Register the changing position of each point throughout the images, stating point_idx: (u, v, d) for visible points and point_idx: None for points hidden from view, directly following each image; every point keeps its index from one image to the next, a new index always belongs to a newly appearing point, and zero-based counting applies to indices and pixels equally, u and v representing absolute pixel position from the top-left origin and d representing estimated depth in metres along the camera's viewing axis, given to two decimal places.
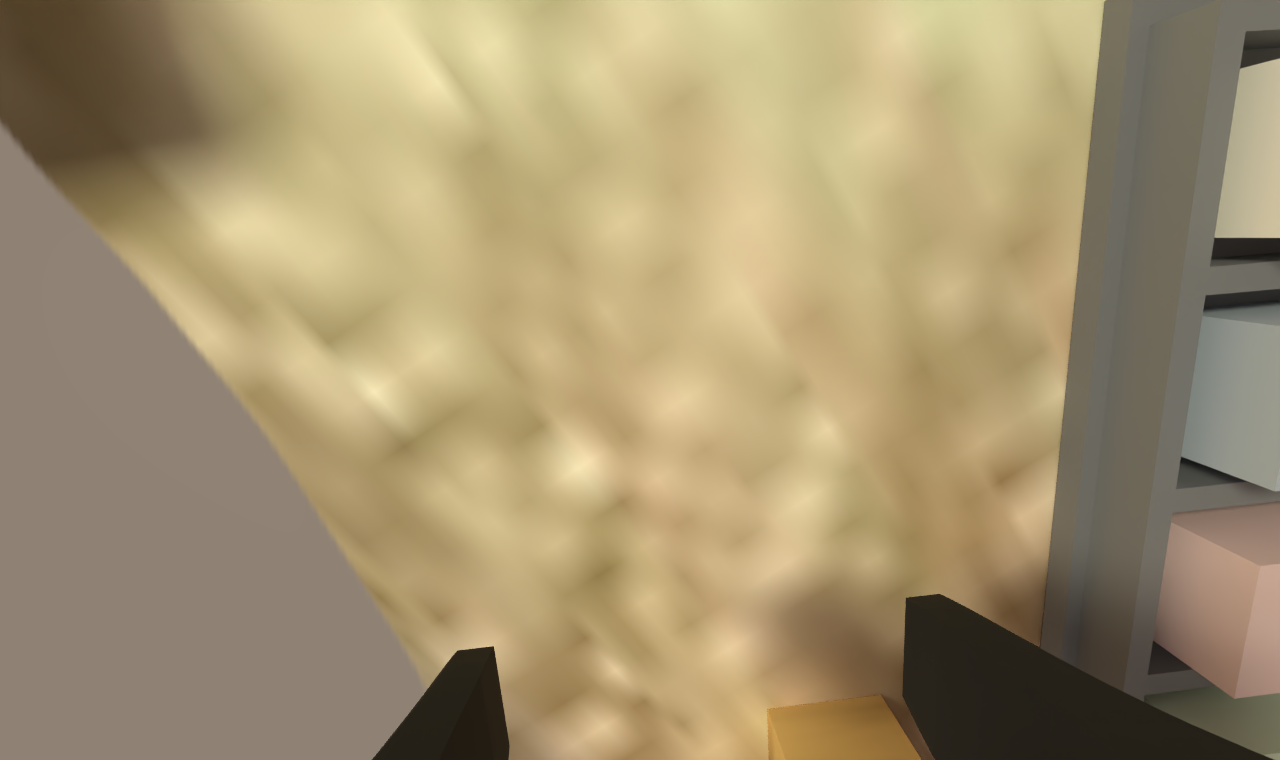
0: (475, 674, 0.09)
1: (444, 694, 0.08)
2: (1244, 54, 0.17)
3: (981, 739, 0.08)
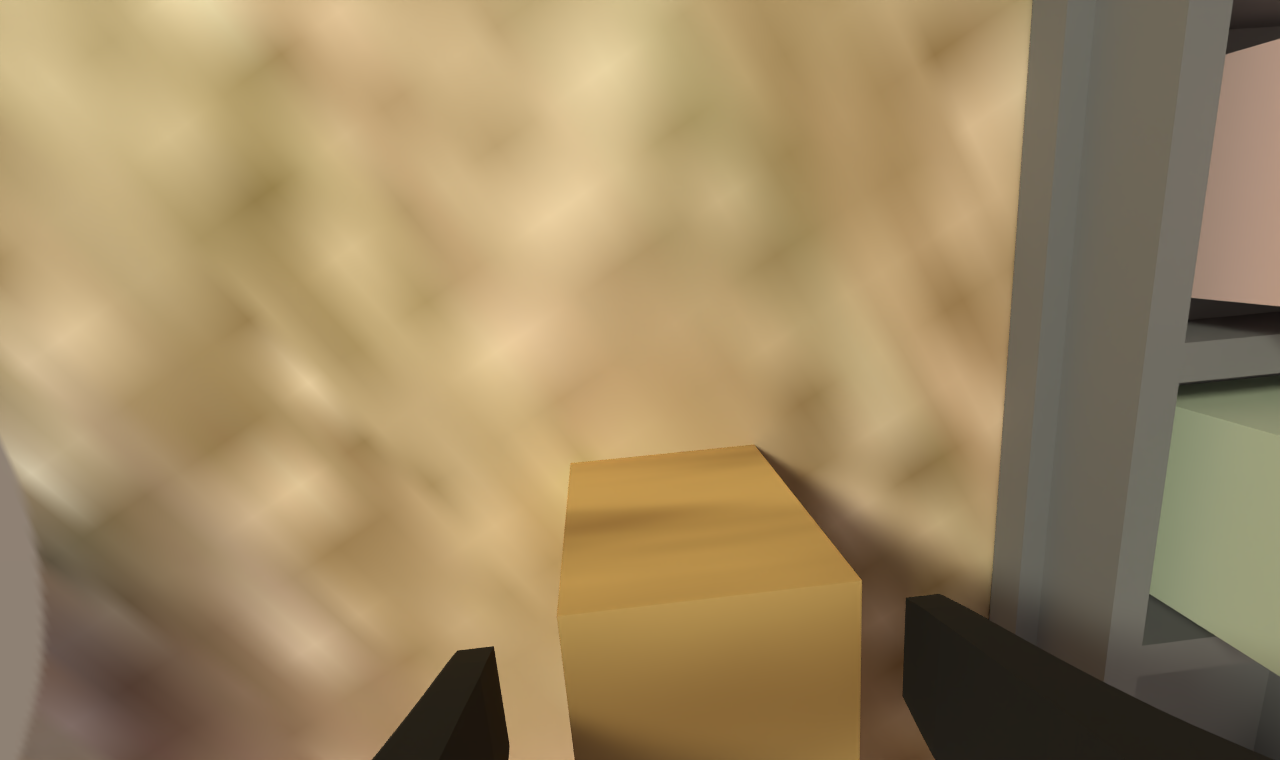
0: (475, 674, 0.09)
1: (444, 694, 0.08)
2: None
3: (981, 739, 0.08)
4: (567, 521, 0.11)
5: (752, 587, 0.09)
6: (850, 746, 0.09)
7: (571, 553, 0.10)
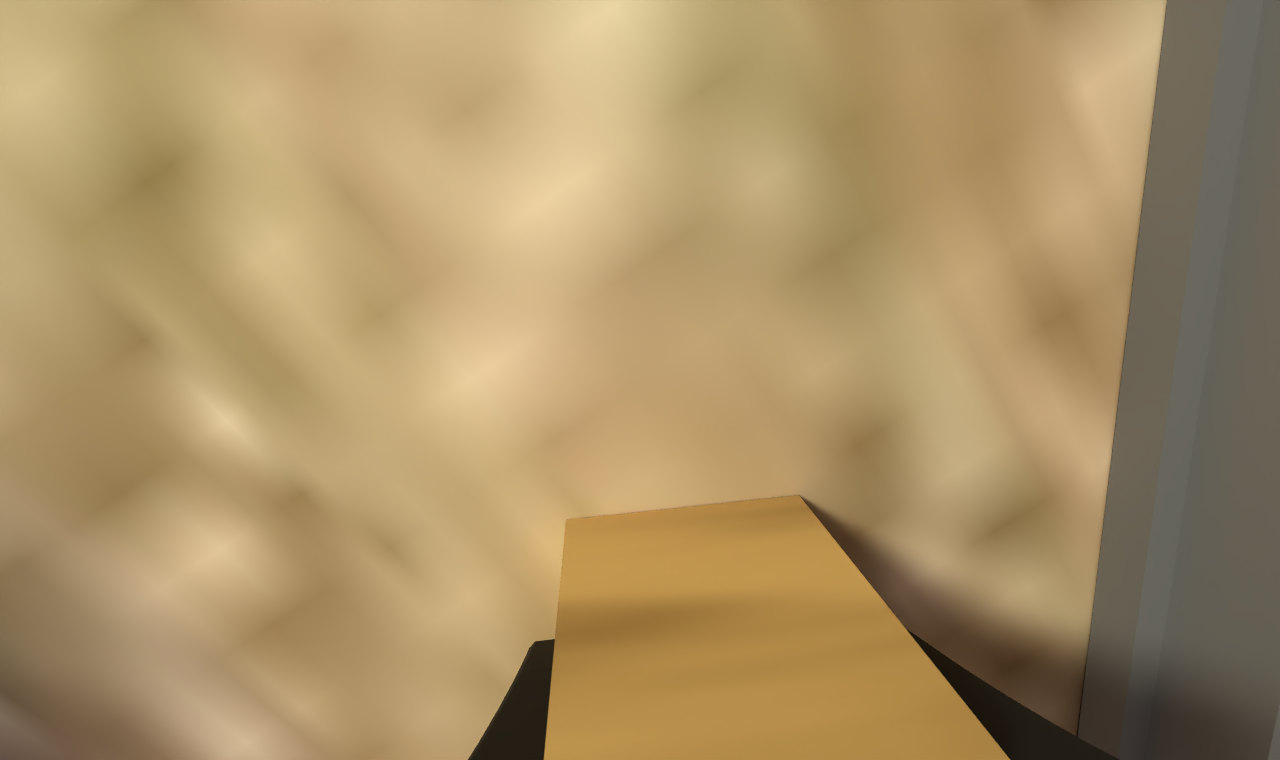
0: None
1: (535, 683, 0.08)
2: None
3: None
4: (559, 621, 0.08)
5: None
6: None
7: (563, 684, 0.07)
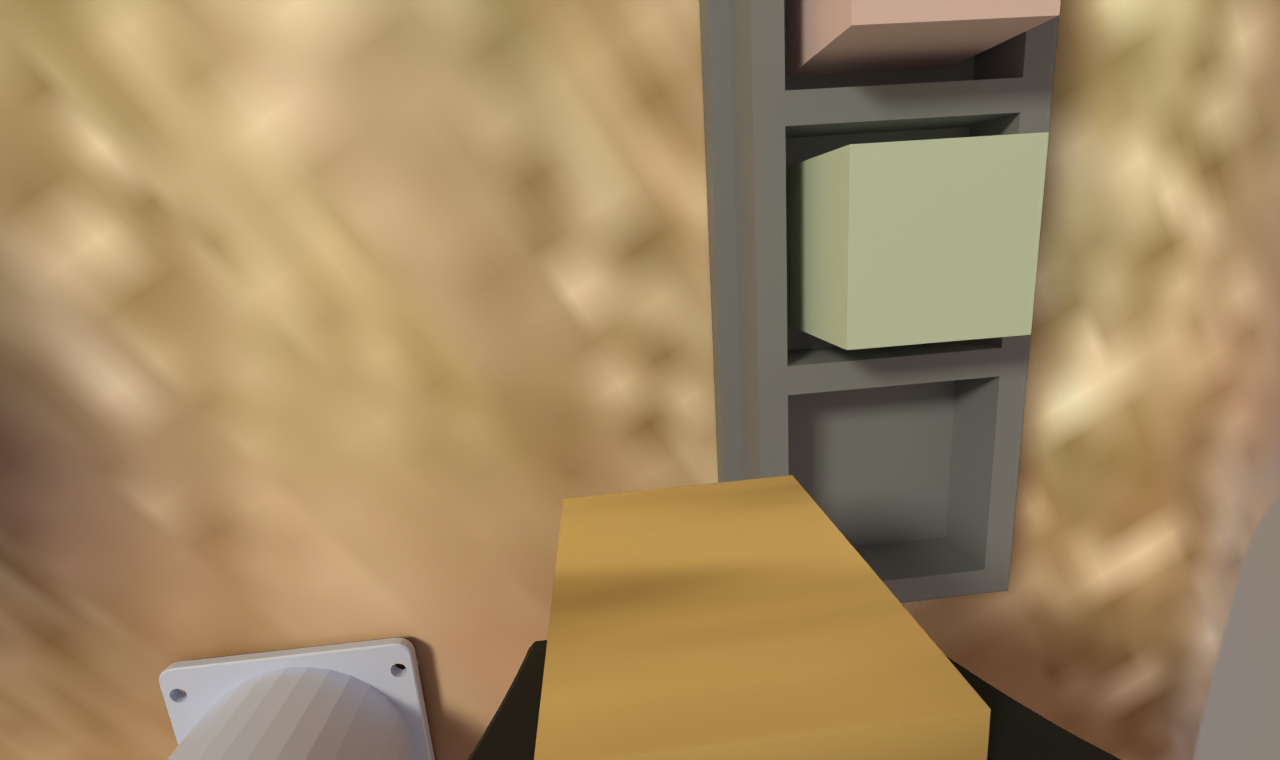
0: None
1: (535, 683, 0.08)
2: None
3: None
4: (555, 590, 0.08)
5: (826, 719, 0.06)
6: None
7: (559, 645, 0.07)
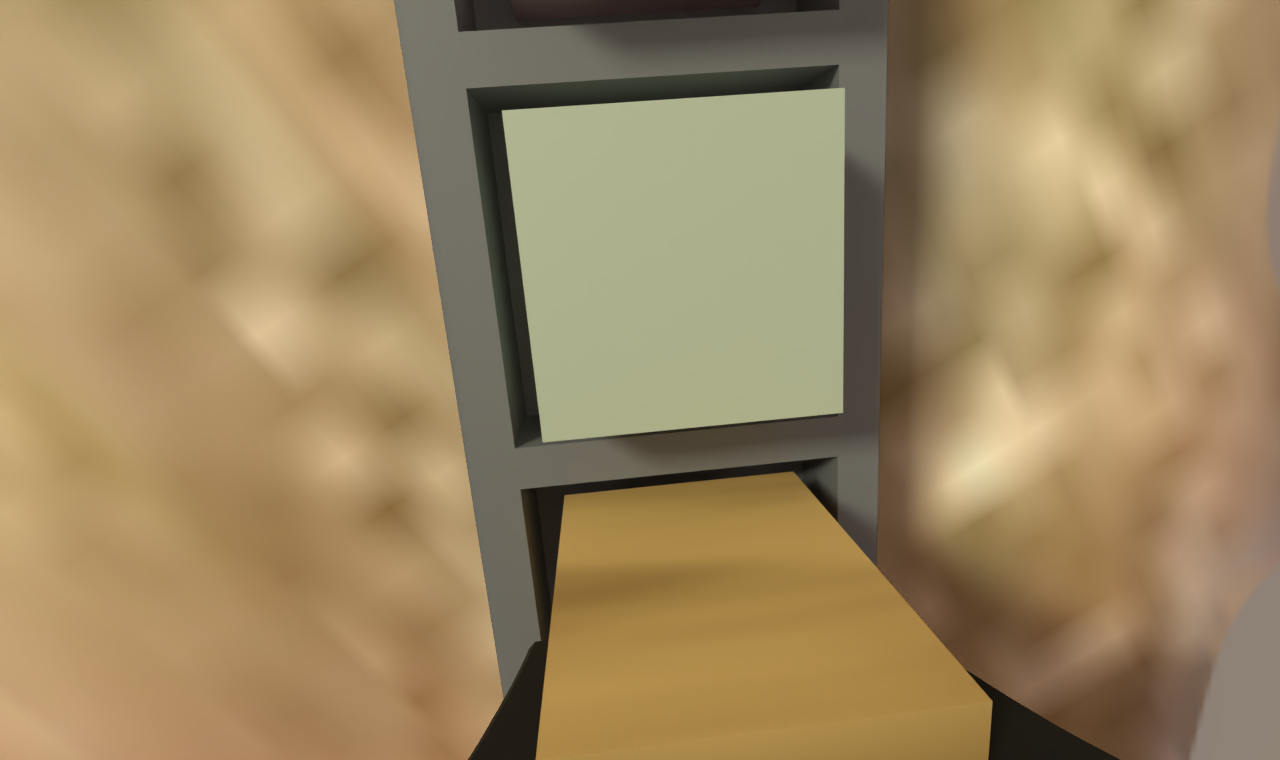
0: None
1: (535, 683, 0.08)
2: None
3: None
4: (557, 585, 0.08)
5: (828, 711, 0.06)
6: None
7: (561, 638, 0.07)
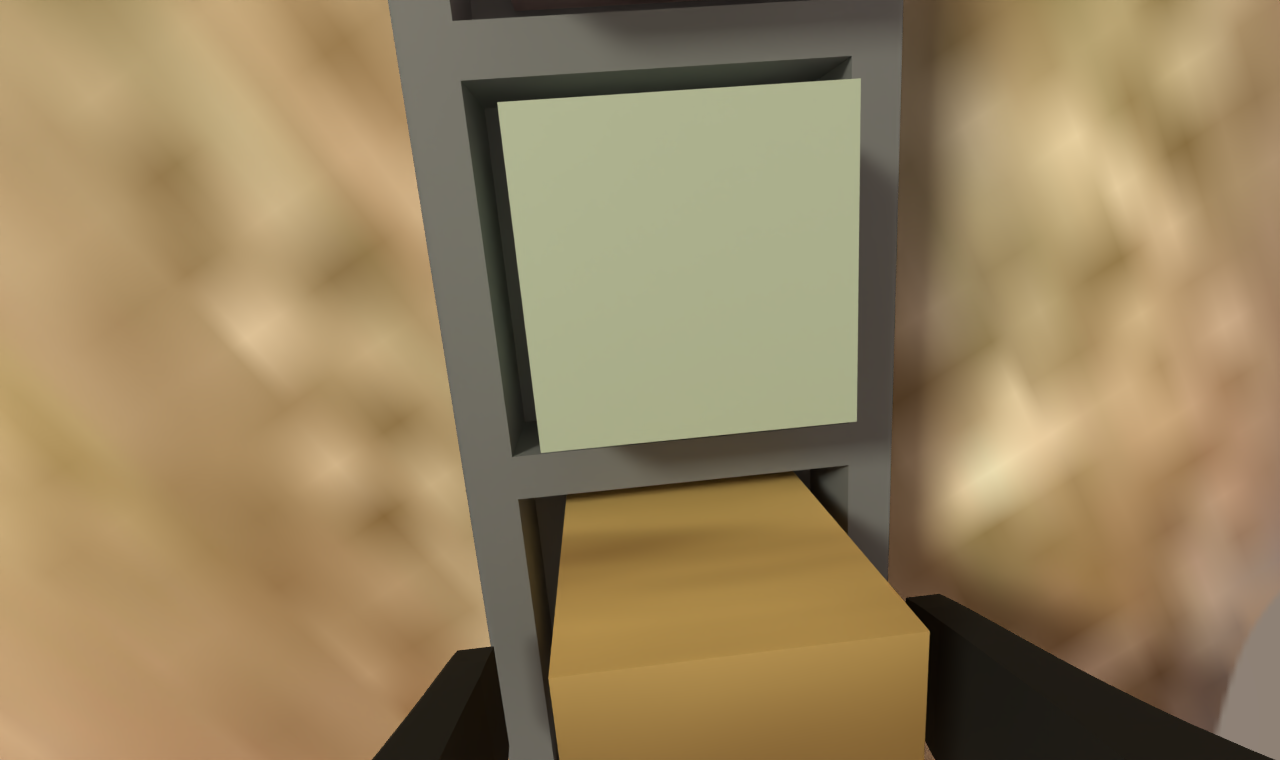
0: (475, 674, 0.09)
1: (444, 694, 0.08)
2: None
3: (981, 739, 0.08)
4: (563, 547, 0.10)
5: (792, 640, 0.07)
6: None
7: (568, 589, 0.08)
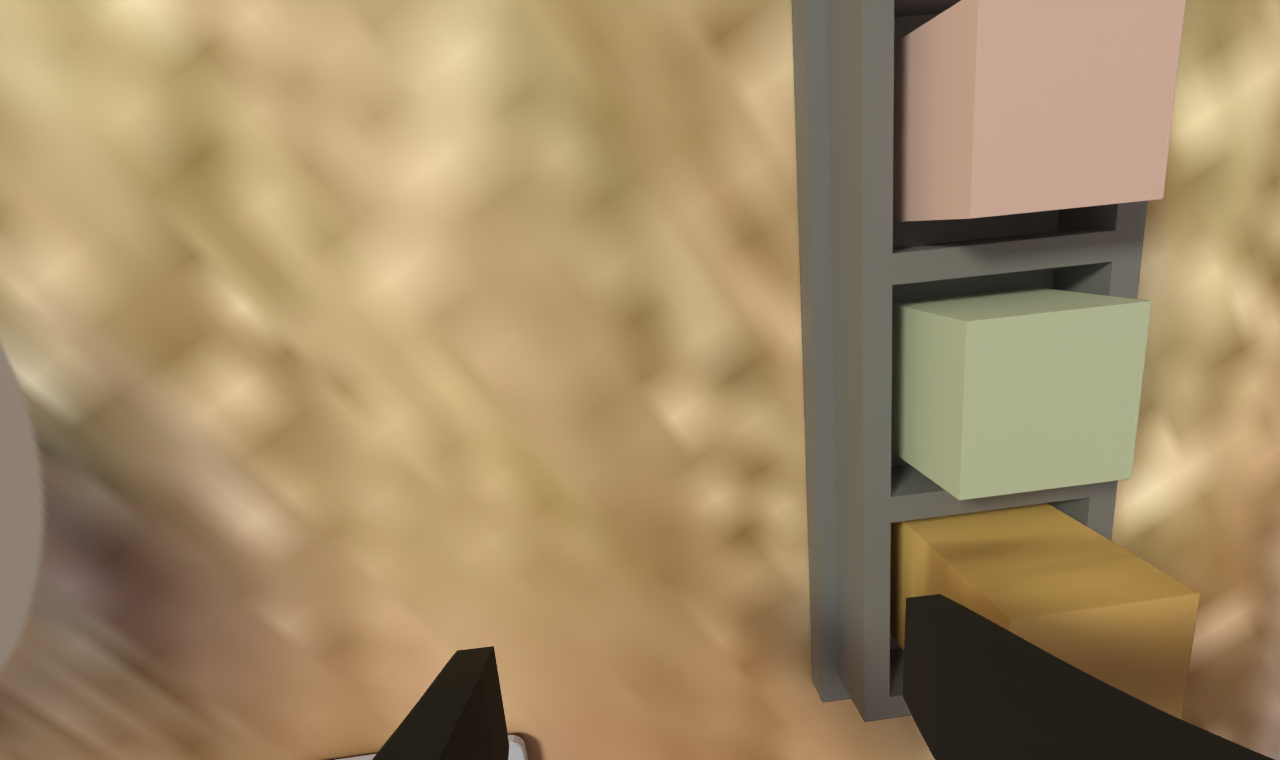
0: (475, 674, 0.09)
1: (444, 694, 0.08)
2: None
3: (980, 739, 0.08)
4: (938, 552, 0.16)
5: (1127, 599, 0.14)
6: (1177, 702, 0.14)
7: (970, 576, 0.15)
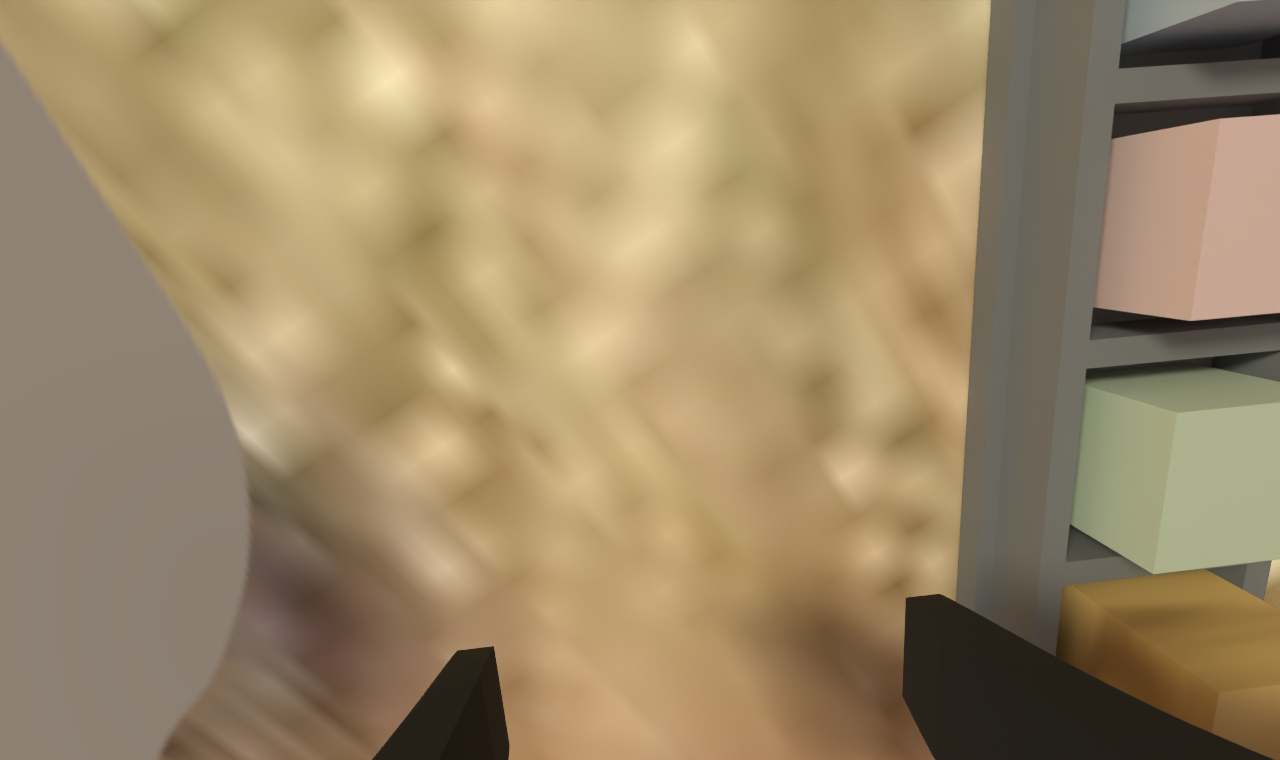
0: (475, 674, 0.09)
1: (444, 694, 0.08)
2: None
3: (981, 739, 0.08)
4: (1117, 617, 0.17)
5: None
6: None
7: (1159, 644, 0.16)
